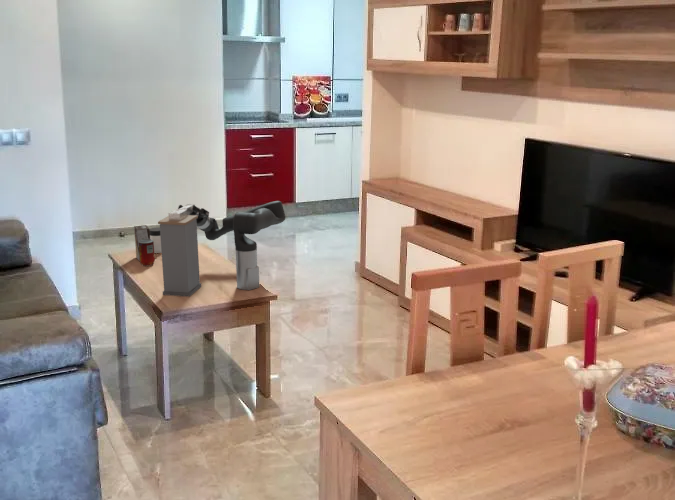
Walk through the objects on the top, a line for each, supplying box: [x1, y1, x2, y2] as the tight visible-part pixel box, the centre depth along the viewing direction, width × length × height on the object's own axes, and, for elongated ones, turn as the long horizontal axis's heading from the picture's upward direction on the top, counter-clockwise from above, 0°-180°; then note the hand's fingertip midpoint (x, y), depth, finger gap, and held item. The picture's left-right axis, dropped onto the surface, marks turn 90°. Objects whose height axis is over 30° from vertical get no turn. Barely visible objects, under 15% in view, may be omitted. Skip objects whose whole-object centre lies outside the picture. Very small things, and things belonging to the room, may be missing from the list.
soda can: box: [139, 239, 156, 267], centre depth 349 cm, size 7×7×12 cm
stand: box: [157, 215, 202, 297], centre depth 308 cm, size 14×12×32 cm
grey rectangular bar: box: [167, 203, 195, 221], centre depth 308 cm, size 19×5×3 cm, turn 170°
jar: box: [149, 226, 162, 253], centre depth 371 cm, size 9×8×12 cm
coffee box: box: [133, 224, 151, 262], centre depth 358 cm, size 9×6×16 cm
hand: (186, 207), depth 312 cm, fingers open, 5 cm apart
